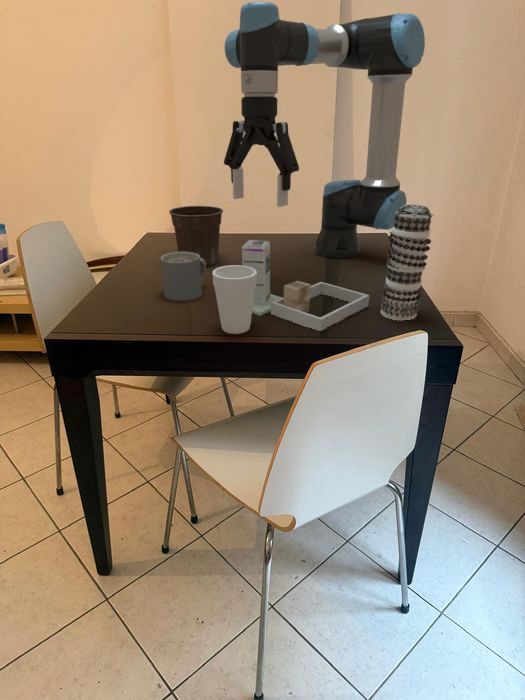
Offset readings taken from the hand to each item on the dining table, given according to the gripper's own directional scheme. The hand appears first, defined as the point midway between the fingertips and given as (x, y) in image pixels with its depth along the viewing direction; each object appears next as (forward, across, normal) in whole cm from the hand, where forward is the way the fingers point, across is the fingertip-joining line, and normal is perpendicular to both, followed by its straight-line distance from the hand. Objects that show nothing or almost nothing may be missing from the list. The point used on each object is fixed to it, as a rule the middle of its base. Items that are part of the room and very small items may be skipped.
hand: (259, 202), depth 106 cm
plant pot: (+25, -38, +12) cm, 47 cm away
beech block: (+25, +11, +1) cm, 27 cm away
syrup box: (+24, -1, 0) cm, 24 cm away
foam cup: (+25, +6, -15) cm, 29 cm away
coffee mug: (+25, -19, -8) cm, 32 cm away
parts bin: (+25, +14, +6) cm, 29 cm away
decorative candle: (+25, +29, +17) cm, 42 cm away
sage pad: (+25, 0, 0) cm, 25 cm away
